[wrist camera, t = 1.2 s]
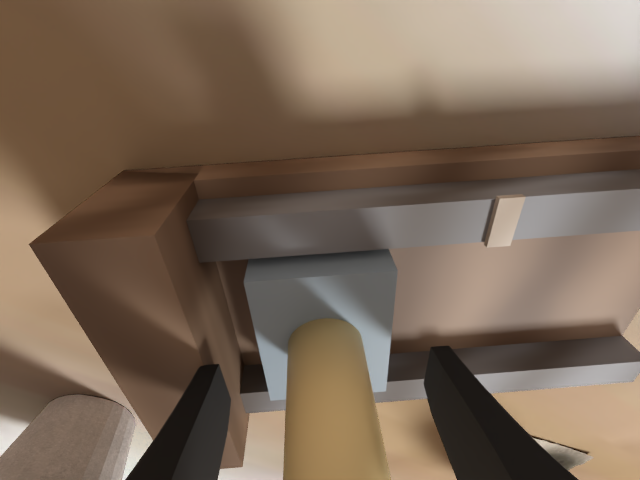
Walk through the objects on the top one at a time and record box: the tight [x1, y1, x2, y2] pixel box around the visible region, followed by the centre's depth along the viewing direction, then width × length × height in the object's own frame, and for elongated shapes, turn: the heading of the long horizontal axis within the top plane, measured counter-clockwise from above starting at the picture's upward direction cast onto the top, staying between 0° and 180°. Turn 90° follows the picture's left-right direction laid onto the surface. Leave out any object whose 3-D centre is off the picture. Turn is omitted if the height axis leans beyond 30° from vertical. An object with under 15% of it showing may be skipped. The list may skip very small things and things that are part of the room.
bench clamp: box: [29, 136, 640, 469], centre depth 13 cm, size 22×12×5 cm, turn 93°
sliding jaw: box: [244, 249, 398, 480], centre depth 11 cm, size 5×7×8 cm
